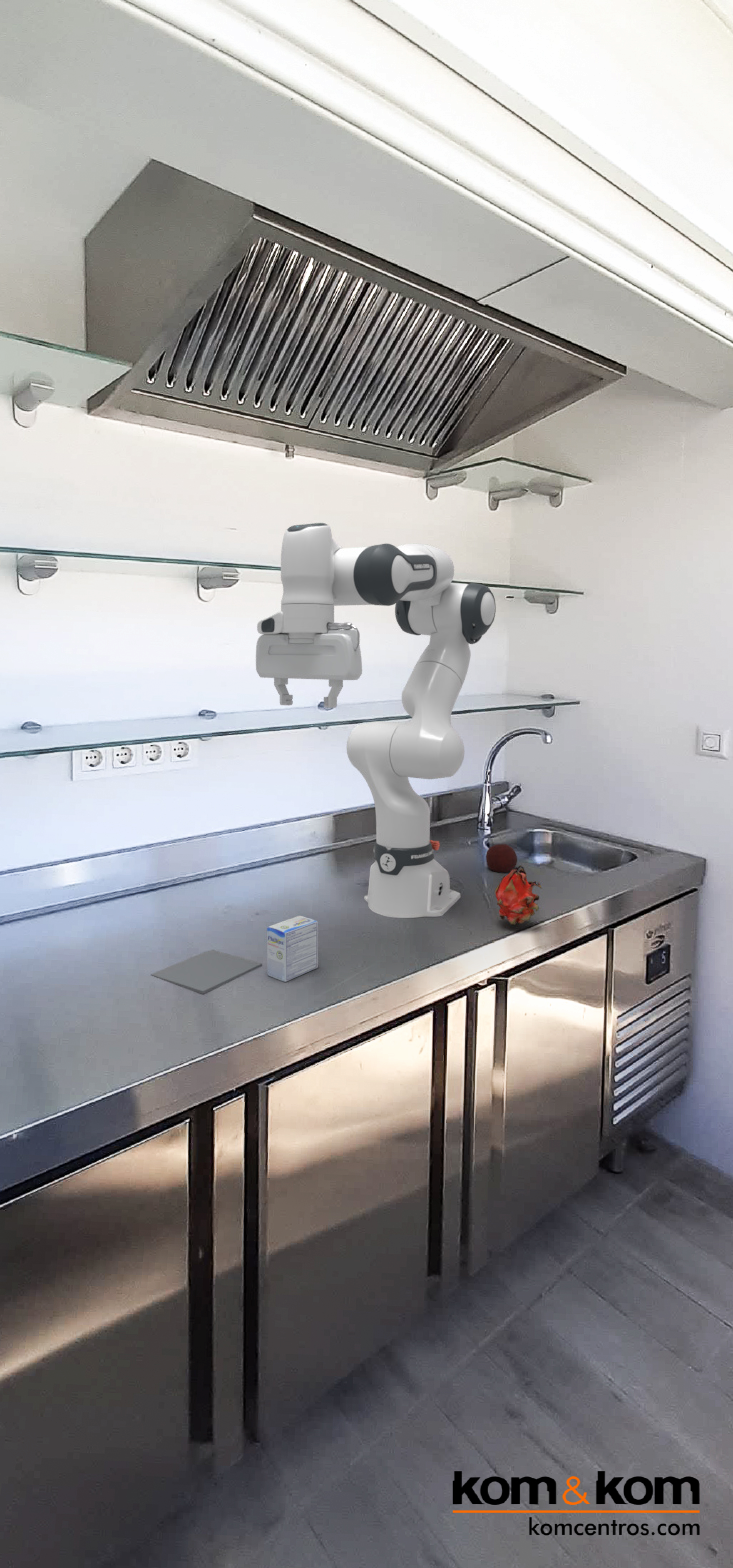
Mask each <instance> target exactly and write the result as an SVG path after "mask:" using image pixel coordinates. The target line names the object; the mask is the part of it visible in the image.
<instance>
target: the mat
mask: <svg viewBox="0 0 733 1568" xmlns="http://www.w3.org/2000/svg"><path fill="white" fill-rule="evenodd" d="M262 966H263V963H261V962H257V961H253V960H250V959H247V958H243V957H241V956H237V955H232V954H229V953H225V952H222V951H218V950H215V949H211V950H207V951H204V952H202V953H201V952H200V953H198V954H197V955H195V956H191V957H190V958H187V959H183V960H182V961H180V962H177V963H175V964H173V965H170V966H168V967H165V968H163V969H160V970H159V971H158V970H157V971H156V972H153V973H150V976H152V977H154V978H157V979H160V980H163V981H165V982H168V983H170V984H174V985H177V986H178V987H182V988H184V989H187V990H190V991H192V992H195V993H199V994H201V995H205V994H207V993H209V992H211V991H213V990H216V989H217V988H219V987H222V986H224V985H226V984H228V983H231V982H232V981H234V980H236V979H239V978H240V977H243V976H245V975H246V974H248V973H250V972H252V971H254V970H256V969H259V968H261V967H262Z"/></svg>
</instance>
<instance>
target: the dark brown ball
mask: <svg viewBox="0 0 733 1568" xmlns="http://www.w3.org/2000/svg"><path fill="white" fill-rule="evenodd" d="M485 862H486V865H487V867H488V868H489V870H491V871H492V872H496V873H510V872H511V871H512V870H513V869H514V868H516V866H517V863H518V856H517V854H516V851H515V850H514V848H513V847H511V846H510V845H508V844H505V843H498V844H495V845H492V846H490V847H489V848H488V849H487V851H486V854H485Z"/></svg>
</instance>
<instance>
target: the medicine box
mask: <svg viewBox="0 0 733 1568" xmlns="http://www.w3.org/2000/svg"><path fill="white" fill-rule="evenodd" d="M318 924H319V922H318V921H317V920H316V919H312V918H310V917H306V916H302V915H297V916H294V917H292V918H288V919H286V920H285V919H284V920H283V921H280V922H277V923H275V924H272V925H269V926H267V927H266V940H267V941H266V945H267V949H266V951H267V954H266V957H267V960H266V961H267V966H266V967H267V975H268V977H271V978H273V979H276V980H278V981H281V982H284V983H286V982H288V981H291V980H293V979H295V978H297V977H301V976H302V975H305V974H307V973H308V972H311V971H313V970H316V969H318V967H319V966H318V965H319V963H318V962H319V957H318V954H319V953H318V951H319V949H318V948H319V947H318V946H319V943H318V941H319V940H318V939H319V937H318V936H319V925H318Z"/></svg>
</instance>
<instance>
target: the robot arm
mask: <svg viewBox="0 0 733 1568" xmlns="http://www.w3.org/2000/svg"><path fill="white" fill-rule="evenodd" d="M280 551H281V553H280V580H281V584H282V589H283V591H282V592H283V593H282V597H281V601H280V611H278V612H276V613H273V614H272V615H269V616H267V617H266V618H263V619H261V620H259V621H258V622H257V624H256V629H257V630H256V631H257V632H258V634H259V635H260V634H261V635H260V636H259V637H258V639H257V641H256V647H255V670H256V673H257V674H258V676H259V678H262V679H263V678H264V679H265V678H267V679H273V686H274V687H275V689H276V692H277V693H278V696H279V705H281V706H292V705H293V697H294V695H293V694H290V693H289V690H288V688H287V686H286V685H288V684H289V679H295V680H296V679H299V680H300V679H301V680H325V681H327V680H328V687H329V688H330V687H331V688H330V690H329V692H328V695H327V696H324V697H323V707H324V708H326V709H327V708H329V709H331V708H332V709H335V708H337V706H338V697H339V695H340V693H341V691H342V689H343V687H344V681H358V680H359V679H360V678H361V676H362V674H363V662H362V653H361V652H362V651H361V647H360V646H361V645H360V641H361V639H360V631H359V630H358V628H357V627H356V626H355V625H353V623H352V622H343V623H342V622H335V606H336V607H337V606H372V605H373V606H384V607H390V606H391V607H392V606H393V605H395V607H394V616H395V620H396V622H397V624H398V626H399V628H400V629H401V631H402V632H404V633H407V634H410V635H414V636H430V637H429V643H428V645H427V646H426V647H425V649H424V650H423V652H422V653H421V655H420V657H419V658H418V660H417V661H416V663H415V665H414V668H413V669H412V671H411V673H410V675H409V677H408V680H407V681H406V683H405V685H404V687H403V690H402V693H401V704H402V707H403V708H404V711H406V713H407V714H408V715H409V717H410V718H411V719H410V720H409V721H407V722H399V721H398V722H397V721H381V720H380V721H378V720H377V721H371V722H370V721H369V722H365V723H361V724H358V725H356V726H354V728H353V729H352V730H351V731H350V733H349V736H348V737H347V741H346V754H347V757H348V758H347V759H348V760H349V762H350V764H351V765H352V766H353V767H354V768H355V769H356V770H357V771H358V772H359V773H360V774H361V776H362V777H363V778H364V781H365V782H366V783H367V786H368V787H369V790H370V793H371V795H372V799H373V802H374V811H375V828H376V830H375V831H376V832H375V833H376V837H375V838H376V839H375V840H376V841H375V842H374V843H373V859H374V860H375V861H374V863H372V864H371V866H370V870H369V879H368V892H367V895H364V897H363V899H364V900H365V902H367V903H368V904H367V905H368V908H369V910H371V911H372V912H373V913H375V914H377V915H381V916H384V917H388V918H395V919H396V918H398V919H413V918H422V917H423V918H424V917H426V918H427V917H430V918H432V917H434V918H435V917H442V916H444V914H445V913H447V912H448V911H449V910H450V909H451V908H452V907H453V906H454V905H455V903H457V901H458V900H459V899H461V893H460V892H459V891H456V890H454V889H450V887H451V886H450V885H451V884H450V883H451V882H450V879H451V878H450V873H449V871H448V870H447V869H445V868H444V866H442V865H441V864H440V863H439V862H438V861H437V860H436V859H435V854H434V851H439V849H440V846H441V845H440V841H439V840H432V839H430V835H431V833H430V830H431V829H430V828H431V825H430V824H431V809H430V806H429V803H428V802H427V801H426V800H425V798H423V797H422V796H421V795H419V794H418V793H416V791H415V789H414V788H413V787H412V785H411V784H410V780H409V778H413V779H414V778H415V779H423V780H437V779H445V778H451V777H452V776H454V775H456V773H458V771H459V770H460V768H461V767H462V764H463V763H464V759H465V745H464V743H463V739H462V737H461V735H460V734H459V732H457V731H456V729H455V728H454V727H453V725H452V722H451V720H452V719H451V717H452V712H453V710H454V707H455V704H456V703H457V698H458V696H459V694H460V692H461V691H462V688H463V685H464V683H465V680H466V677H467V675H468V670H469V666H470V662H471V649H470V646H469V644H470V645H474V644H477V643H478V642H479V641H480V640H481V639H482V637H483V636H484V635H485V634H486V633H487V632H488V630H489V629H490V628H491V626H492V625H493V622H494V621H495V616H496V608H497V607H496V605H497V604H496V599H495V596H494V593H493V591H492V590H491V589H490V587H488V586H486V585H484V584H481V583H475V582H470V583H460V582H453V579H454V575H455V566H454V562H453V559H452V558H451V556H450V555H449V554H448V553H447V552H446V551H445V550H443V549H442V548H439V547H437V546H433V545H431V544H430V545H429V544H424V543H404V544H400V545H396V546H395V545H393V544H392V543H381V544H374V545H371V546H370V545H369V546H359V547H358V546H357V547H356V546H355V547H345V548H343V547H342V546H341V545H339V544H338V543H337V542H336V541H335V540H334V538H333V535H332V530H331V526H330V525H329V524H327V523H324V522H314V523H306V524H305V523H303V524H296V525H291V526H289V527H288V528H287V529H285V532H284V535H283V538H282V544H281V550H280Z"/></svg>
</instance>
